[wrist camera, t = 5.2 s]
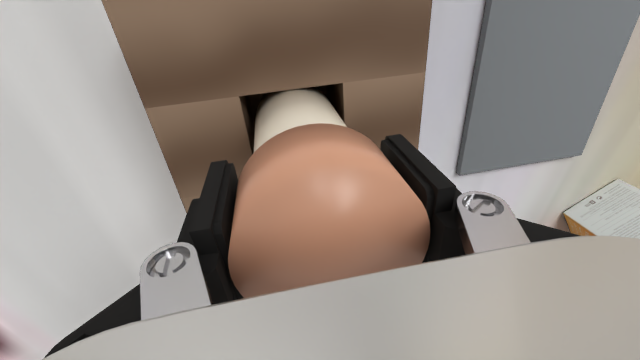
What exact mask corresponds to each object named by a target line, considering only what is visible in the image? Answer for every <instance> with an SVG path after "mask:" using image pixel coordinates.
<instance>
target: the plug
mask: <svg viewBox="0 0 640 360" xmlns="http://www.w3.org/2000/svg"><path fill="white" fill-rule="evenodd" d="M429 241H430V222H429V218H428V215H427V211H426V209H425V207H424V205H423V204H422V202H421V201H420V199H419V198H418V197H417V195H416V194H415V193H414V192H413V190H412V189H411V188H410V187H409V185H408V184H407V183H406V182H405V180H404V179H403V178H402V177H401V175H400V174H399V173H398V172H397V170H396V169H395V168H394V167H393V165H392V164H391V163H390V162H389V160H388V159H387V158H386V157H385V155H384V154H383V153H382V152H381V150H380V149H379V148H378V147H377V145H376V144H374V143H373V142H372V141H371V140H370V139H369V138H367V137H366V136H365V135H363V134H362V133H360V132H357V131H355V130H353V129H351V128H348V127H347V126H346V125H345V123H344V122H343V121H342V119H341V118H340V116H339V115H338V113H337V112H336V110H335V109H334V107H333V106H332V104H331V103H330V101H329V100H328V98H327V97H326V96H325V95H324V93H322V92H321V91H320V90H319V89H318V88H316V87H307V88H300V89H292V90H284V91H276V92H269V93H266V94H265V95H264V97H263V98H262V99H261V101H260V103H259V105H258V107H257V111H256V117H255V135H254V153H253V154H252V156H251V157H250V158H249V160H248V161H247V163H246V164H245V166H244V168H243V170H242V172H241V174H240V177H239V181H238V184H237V192H236V199H235V207H234V215H233V222H232V230H231V237H230V245H229V253H228V267H229V272H230V276H231V279H232V281H233V283H234V285H235V287H236V288H237V290H238V291H239V293H240V294H241V295H242V296H243V297H244V298H248V297H253V296H258V295H263V294H268V293H273V292H278V291H283V290H288V289H293V288H297V287H302V286H307V285H312V284H318V283H323V282H328V281H333V280H338V279H343V278H348V277H353V276H358V275H363V274H368V273H374V272H379V271H384V270H389V269H394V268H399V267H404V266H409V265H415V264H420V263H422V261H423V260H424V257H425V255H426V252H427V250H428V246H429Z"/></svg>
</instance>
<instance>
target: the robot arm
mask: <svg viewBox="0 0 640 360" xmlns="http://www.w3.org/2000/svg"><path fill="white" fill-rule="evenodd" d="M380 150H381V152H382V153H383V154H384V155H385V157H386V158H387V159H388V160H389V162H390V163H391V164H392V165H393V167H394V168H395V169H396V170H397V172H398V173H399V174H400V175H401V177H402V178H403V179H404V180H405V182H406V183H407V184H408V185H409V187H410V188H411V189H412V190H413V192H414V193H415V194H416V195H417V197H418V198H419V199H420V201H421V202H422V204H423V205H424V207H425V209H426V211H427V215H428V218H429V222H430V241H429V246H428V250H427V252H426V255H425V257H424V260H423V261H422V263H420V264H415V265H409V266H404V267H399V268H394V269H389V270H384V271H379V272H374V273H368V274H363V275H358V276H353V277H348V278H343V279H338V280H333V281H328V282H323V283H318V284H312V285H307V286H302V287H297V288H293V289H288V290H283V291H278V292H273V293H268V294H263V295H258V296H253V297H248V298H244V297H243V296H242V295H241V294H240V293H239V291H238V290H237V288H236V287H235V285H234V283H233V281H232V279H231V276H230V272H229V267H228V253H229V245H230V237H231V230H232V222H233V215H234V207H235V199H236V192H237V184H238V178H237V174H236V170H235V167H234V164H233V163H228V161H227V160H222V161H216V162H211V163H210V167H209V170H208V173H207V176H206V179H205V182H204V186H203V189H202V192H201V195H200V198H197V199H193V200H192V201H191V204H190V207H189V209H188V212H187V215H186V218H185V221H184V224H183V226H182V229H181V232H180V235H179V238H178V241H177V243H172V244H169V245H166V246H164V247H161V248H159V249H158V250H156V251H155V252H153V253H152V254H150V255H149V256H148V257H147V258H146V259H145V261H144V262H143V264H142V265H141V269H140V284H139V285H138V286H136V287H135V288H133V289H132V290H131V291H129V292H128V293H126V294H125V295H124V296H122V297H121V298H120V299H118V300H117V301H115V302H114V303H113V304H111V305H110V306H108V307H107V308H106V309H104V310H103V311H101V312H100V313H99V314H97V315H96V316H94V317H93V318H92V319H90V320H89V321H87V322H86V323H85V324H83V325H82V326H80V327H79V328H78V329H76V330H75V331H74V332H72V333H71V334H69V335H68V336H67V337H65V338H64V339H63V340H61V341H60V342H59V343H58V344H57V345H55V346H54V347H53V348H52V350H51V351H50V352H49V353H48V354H47V355H46V356H45V358H44V359H42V360H640V239H638V238H629V237H618V236H580V235H577V234H573V233H569V232H565V231H562V230H558V229H554V228H551V227H547V226H543V225H540V224H536V223H532V222H529V221H525V220H521V219H518V218H516V217H515V215H514V214H513V212H512V210H511V208H510V207H509V205H508V204H507V203H506V202H505V201H504V200H503V199H501V198H500V197H498V196H495V195H493V194H490V193H486V192H479V191H472V192H466V193H463V194H462V193H461V192H460V191H459V190H458V189H457V188H456V186H455V185H454V184H453V183H452V182H451V181H450V180H449V179H448V178H447V177H446V176H445V175H444V174H443V173H442V172H441V171H439V170H438V169H437V168H436V167H435V166H434V165H433V164H432V163H431V162H430V161H429V160H428V159H427V158H426V157H425V156H424V155H423V154H422V153H421V152H419V151H418V150H417V149H416V148H415V147H414V146H413V145H412V144H411V143H410V142H409V141H408V140H407V139H406V138H405V137H404V136H403V135H401V134H396V135H390V136H386V137H385V140H382V141H381V146H380Z"/></svg>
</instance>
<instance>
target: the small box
mask: <svg viewBox="0 0 640 360" xmlns="http://www.w3.org/2000/svg"><path fill="white" fill-rule="evenodd" d="M563 215H564V217H565V219H566V221H567V224H568V226H569V229H570V232H571V233H573V234H577V235H580V236H618V237H629V238H638V239H640V189H638V188H636V187H634V186H632V185H630V184H628V183H626V182H624V181H622V180H620V179H617V180H615V181H613V182H612V183H610V184H608V185H607V186H605V187H603V188H602V189H600V190H598V191H597V192H595V193H594V194H592V195H590V196H589V197H587V198H585V199H584V200H582V201H581V202H579V203H577V204H576V205H574V206H573V207H571V208H570V209H568V210H566V211H565V212H564V213H563Z"/></svg>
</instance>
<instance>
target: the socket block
mask: <svg viewBox="0 0 640 360" xmlns="http://www.w3.org/2000/svg"><path fill="white" fill-rule="evenodd" d="M102 3H103V5H104V8H105V10H106V13H107V15H108V18H109V20H110V23H111V25H112V28H113V30H114V33H115V35H116V38H117V40H118V43H119V45H120V48H121V50H122V53H123V55H124V58H125V60H126V63H127V65H128V68H129V70H130V73H131V75H132V78H133V80H134V83H135V85H136V88H137V90H138V93H139V95H140V98H141V100H142V103H143V105H144V108H145V110H146V113H147V115H148V118H149V120H150V123H151V125H152V128H153V130H154V133H155V135H156V138H157V140H158V143H159V145H160V148H161V150H162V153H163V155H164V158H165V160H166V163H167V165H168V168H169V170H170V173H171V175H172V178H173V180H174V183H175V185H176V188H177V190H178V193H179V195H180V198H181V200H182V203H183V205H184V208H185V210H186V213H187V212H188V209H189V207H190V204H191V201H192V200H193V199H197V198H200V195H201V192H202V189H203V186H204V182H205V179H206V176H207V173H208V170H209V167H210V163H211V162H216V161H222V160H227V161H228V163H233V164H234V167H235V170H236V174H237V178H238V181H239V177H240V174H241V172H242V170H243V168H244V166H245V164H246V163H247V161H248V160H249V158H250V157H251V156H252V154H253V153H254V135H255V117H256V111H257V107H258V105H259V103H260V101H261V99H262V98H263V97H264V95H265V94H266V93H269V92H276V91H284V90H292V89H300V88H307V87H316V88H318V89H319V90H320V91H321V92H322V93H324V95H325V96H326V97H327V98H328V100H329V101H330V103H331V104H332V106H333V107H334V109H335V110H336V112H337V113H338V115H339V116H340V118H341V119H342V121H343V122H344V123H345V125H346V126H347V127H348V128H351V129H353V130H355V131H357V132H360V133H362V134H363V135H365V136H366V137H367V138H369V139H370V140H371V141H372V142H373V143H374V144H376V145H377V147H378V148H379V149H380V146H381V141H382V140H385V137H386V136H390V135H396V134H401V135H403V136H404V137H405V138H406V139H407V140H408V141H409V142H410V143H411V144H412V145H413V146H414V147H415V148H416V149H417V150H418V144H419V134H420V123H421V113H422V102H423V92H424V81H425V71H426V60H427V50H428V39H429V29H430V18H431V8H432V0H102Z"/></svg>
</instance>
